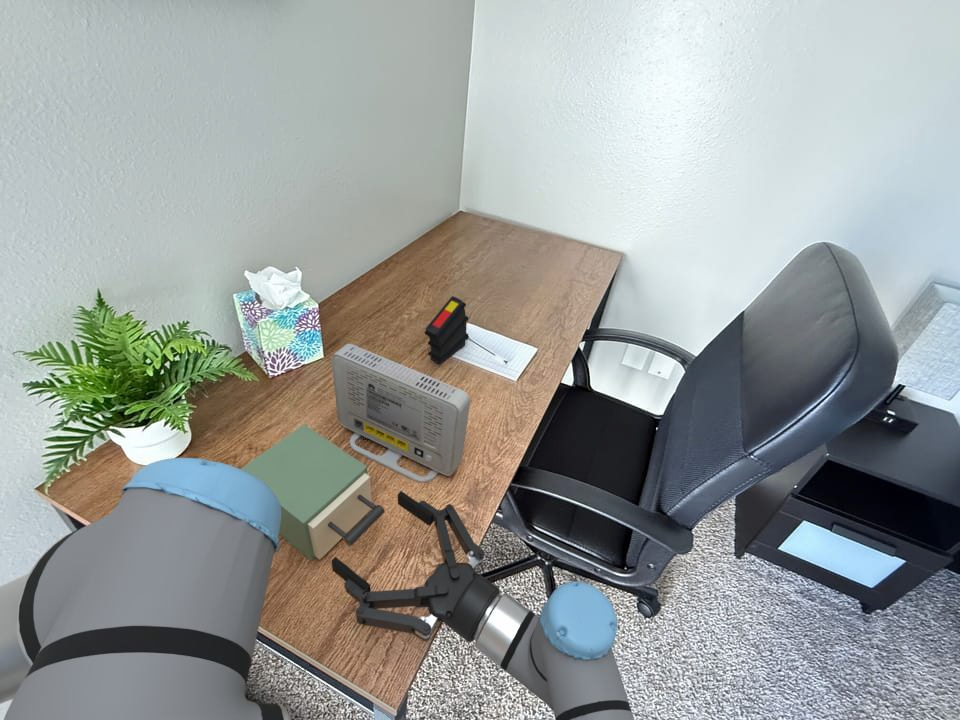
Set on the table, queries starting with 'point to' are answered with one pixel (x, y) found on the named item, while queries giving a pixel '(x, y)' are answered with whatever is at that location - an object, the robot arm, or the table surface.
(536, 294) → the table surface
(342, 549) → the table surface
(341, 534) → the drawer
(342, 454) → the cabinet
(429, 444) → the network device
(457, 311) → the black electronic module
